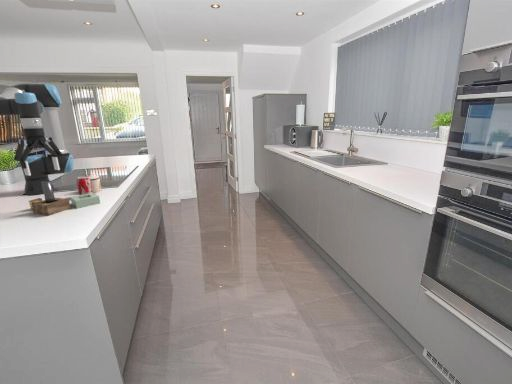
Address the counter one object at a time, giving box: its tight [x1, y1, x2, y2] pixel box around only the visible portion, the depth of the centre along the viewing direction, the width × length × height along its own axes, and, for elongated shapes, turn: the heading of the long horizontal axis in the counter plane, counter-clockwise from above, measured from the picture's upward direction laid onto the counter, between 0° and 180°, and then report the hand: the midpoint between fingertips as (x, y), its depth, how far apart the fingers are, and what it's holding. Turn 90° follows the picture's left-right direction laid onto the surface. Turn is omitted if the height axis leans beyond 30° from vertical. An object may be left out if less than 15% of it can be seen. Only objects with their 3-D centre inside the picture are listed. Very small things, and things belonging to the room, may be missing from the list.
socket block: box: [32, 196, 72, 216], centre depth 137 cm, size 11×11×5 cm
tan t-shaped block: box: [28, 197, 43, 210], centre depth 139 cm, size 9×5×4 cm, turn 71°
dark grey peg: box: [41, 180, 56, 204], centre depth 135 cm, size 4×4×15 cm
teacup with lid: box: [87, 172, 102, 194], centre depth 172 cm, size 12×9×12 cm
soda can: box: [75, 175, 93, 195], centre depth 159 cm, size 7×7×12 cm
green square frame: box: [70, 193, 101, 209], centre depth 147 cm, size 11×11×4 cm
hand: (43, 172), depth 132 cm, fingers open, 13 cm apart
